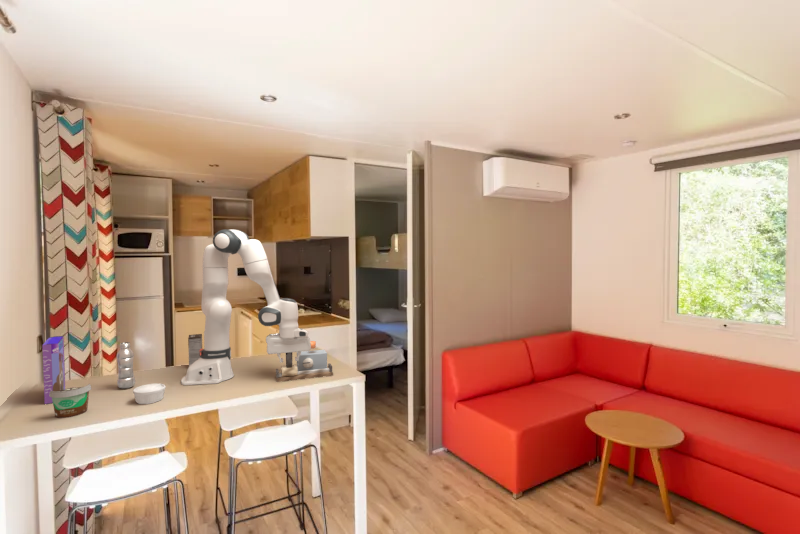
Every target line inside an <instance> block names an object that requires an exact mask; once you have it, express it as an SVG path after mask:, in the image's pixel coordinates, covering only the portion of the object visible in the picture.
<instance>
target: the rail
mask: <svg viewBox="0 0 800 534" xmlns="http://www.w3.org/2000/svg"><path fill="white" fill-rule="evenodd" d="M331 375H333V376H334V373H333V365H332V364H331V363H327V368H325V369H316V370H306V371H298V373H297V375H294V376H284V377H282V373H280V370H279V368H275V378H276V382H277V383H280V382H281V381H282V382H288V381H289V380H291V381H298V380H297V379H300V380H306V379H305V378H309V379H315V378H314V377H318V378H324V377H323V376H326V377H332V376H331ZM282 382H281V383H282Z"/></svg>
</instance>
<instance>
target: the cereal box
mask: <svg viewBox="0 0 800 534" xmlns="http://www.w3.org/2000/svg"><path fill="white" fill-rule="evenodd" d="M65 368H66V367H65V337H64V335H55V336H49V337H47V339H46V340H45V341H44V343H43V344H42V370H43V372H42V373H43V396H44V399H43V400H44V405H45V404H46V405H51V404H52V405H53V401H52V397H50V396H49V394H50V391H51V390H52V391H60V390H64V389H66V369H65Z"/></svg>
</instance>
